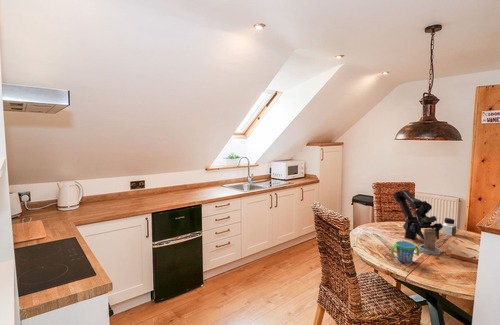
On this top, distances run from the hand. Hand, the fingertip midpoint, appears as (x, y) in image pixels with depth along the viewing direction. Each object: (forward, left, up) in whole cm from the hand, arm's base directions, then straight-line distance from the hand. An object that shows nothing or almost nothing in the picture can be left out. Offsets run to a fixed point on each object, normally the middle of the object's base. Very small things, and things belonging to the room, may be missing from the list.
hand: (430, 239), depth 177 cm
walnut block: (-1, +1, -8) cm, 8 cm away
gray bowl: (-1, +1, -8) cm, 8 cm away
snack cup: (-8, -25, -9) cm, 28 cm away
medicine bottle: (+1, +46, -9) cm, 47 cm away
